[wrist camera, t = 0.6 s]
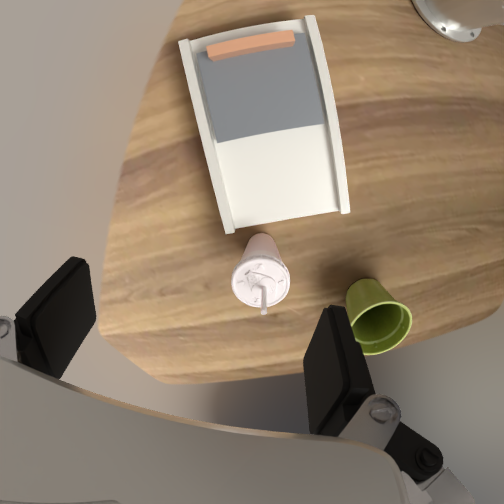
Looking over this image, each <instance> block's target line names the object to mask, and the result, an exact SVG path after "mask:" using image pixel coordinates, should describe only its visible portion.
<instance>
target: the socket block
mask: <svg viewBox="0 0 504 504" xmlns="http://www.w3.org/2000/svg"><path fill="white" fill-rule="evenodd" d="M286 30H293V34H297V33H305V37H306V41H307V45H308V49H309V53H310V57H311V61H312V66H313V70H314V75H315V79H316V84H317V89H318V94H319V99H320V104H321V109H322V114H323V120H324V124H319V125H312V126H305V127H299V128H292V129H286V130H280V131H275V132H269V133H264V134H259V135H253V136H249V137H244V138H239V139H234V140H230V141H225V142H221V143H217V140H216V136H215V132H214V128H213V124H212V119H211V115H210V111H209V107H208V103H207V98H206V94H205V90H204V86H203V81H202V77H201V73H200V69H199V64H198V60H197V56H196V53H200V52H203V51H207V48H206V46H209V45H213V44H217V43H221V42H225V41H230V40H234V39H239V38H244V37H249V36H254V35H260V34H266V33H272V32H279V31H286ZM178 43H179V47H180V52H181V56H182V61H183V65H184V69H185V74H186V78H187V82H188V86H189V91H190V95H191V99H192V103H193V107H194V111H195V116H196V120H197V124H198V128H199V132H200V136H201V140H202V144H203V148H204V152H205V156H206V160H207V164H208V168H209V172H210V176H211V180H212V184H213V188H214V191H215V195H216V199H217V203H218V207H219V211H220V214H221V218H222V222H223V226H224V230H225V233H226V234H230V233H235V229H236V228H241V227H247V226H252V225H258V224H263V223H269V222H275V221H280V220H286V219H292V218H298V217H304V216H309V215H315V214H321V213H327V212H334V211H340V213H341V214H346V213H350V206H349V196H348V187H347V178H346V170H345V163H344V155H343V148H342V141H341V135H340V129H339V123H338V117H337V111H336V106H335V100H334V95H333V90H332V85H331V80H330V76H329V71H328V67H327V62H326V58H325V54H324V49H323V45H322V41H321V37H320V33H319V30H318V26H317V22H316V19H315V15H308V16H305V17H304V19H298V20H289V21H281V22H274V23H267V24H261V25H255V26H250V27H245V28H240V29H235V30H230V31H226V32H222V33H218V34H214V35H210V36H206V37H202V38H199V39H195V40H192V41H190V40H189V39H184V40H181V41H178Z"/></svg>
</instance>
